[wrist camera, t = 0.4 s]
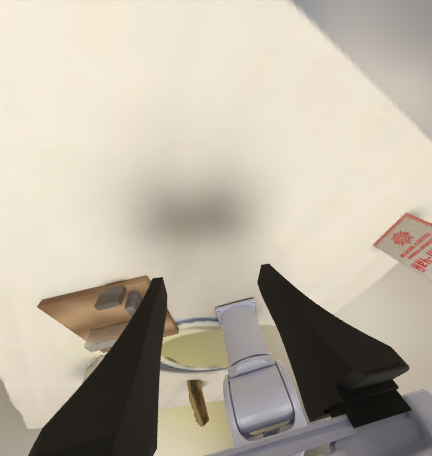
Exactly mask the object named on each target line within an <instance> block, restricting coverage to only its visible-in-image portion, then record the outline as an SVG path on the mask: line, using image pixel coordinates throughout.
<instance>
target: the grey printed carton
mask: <svg viewBox="0 0 432 456" xmlns="http://www.w3.org/2000/svg"><path fill="white" fill-rule="evenodd" d="M373 245H374V246H376V247H377V248H379V249H380V250H382V251H383V252H385V253H386V254H388V255H390V256H391V257H393V258H394V259H396V260H397V261H399V262H400V263H402V264H404V265H405V266H407V267H408V268H410V269H411V270H413V271H415V272H417V273H419V274H420V275H422V276H424V277H425V278H427V279H429V280H431V281H432V224H431V223H429V222H426V221H424V220H422V219H419V218H417V217H414V216H412V215H409V214H407V213H406V214H405V215H404V216H403V217H402V218H401V219H399V220H398V221H397V222H396V223H395V224H394V225H393V226H392V227H391V228H390V229H389V230H388V231H387V232H386V233H385V234H384V235H383V236H382V237H381V238H380V239H379V240H378V241H377V242H375V243H374V244H373Z"/></svg>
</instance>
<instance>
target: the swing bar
mask: <svg viewBox="0 0 432 456" xmlns="http://www.w3.org/2000/svg"><path fill="white" fill-rule="evenodd" d="M128 323H129V321H128V322H124V323H120V324H116V325H112V326H108V327H104V328H100V329H96V330H92V331H91V332H90V334H89V337H88V339H87V341H86V343H85V346H84V348H86V349H87V350H89V351H90V352H94V351H97V350H101V349H105V348H109V347H112V346H113V345H114V343H115V342H116V341H117V339H118V338H119V336H120V335H121V333H122V332H123V331H124V329H125V328H126V326H127V324H128Z"/></svg>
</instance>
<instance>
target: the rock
mask: <svg viewBox="0 0 432 456" xmlns="http://www.w3.org/2000/svg"><path fill="white" fill-rule="evenodd" d="M187 383H188V389H189V399H190V403H191V405H192V408H193V410H194V416H195V418H196V422H197V423H198V424H199V425H200V426H203V425H205V424H206V423H207V422H208V421H209V417H208V414H207V409H206V406H205V401H204V397H203V392H202V388H201V383H200V380H190V381H187Z"/></svg>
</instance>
